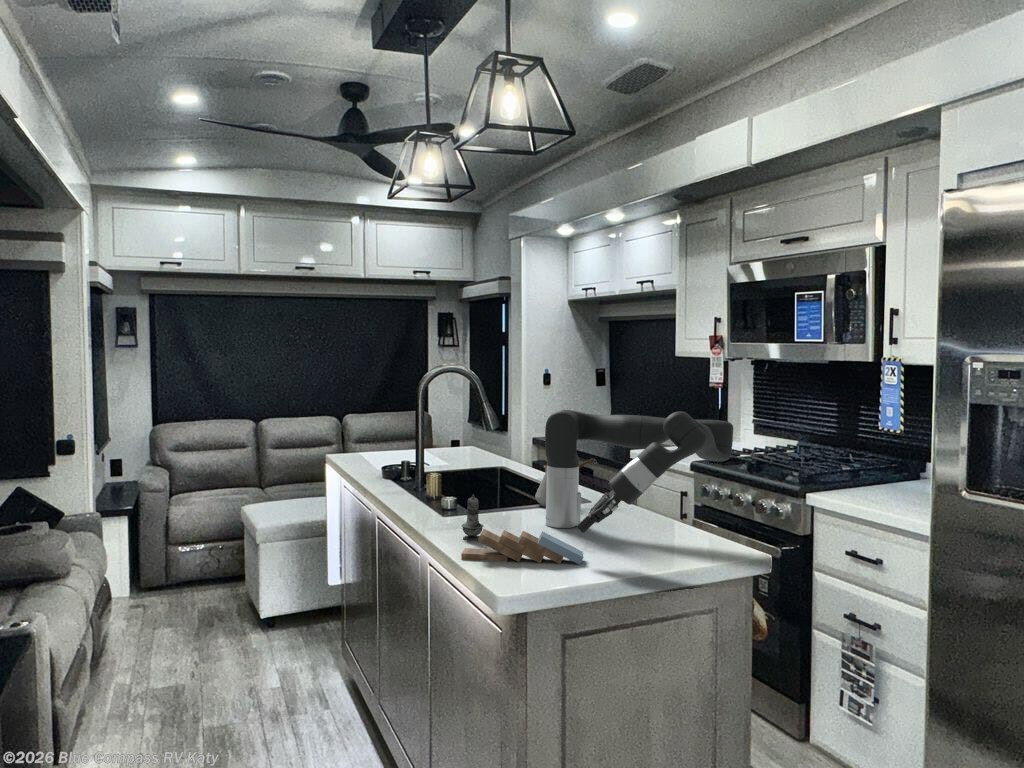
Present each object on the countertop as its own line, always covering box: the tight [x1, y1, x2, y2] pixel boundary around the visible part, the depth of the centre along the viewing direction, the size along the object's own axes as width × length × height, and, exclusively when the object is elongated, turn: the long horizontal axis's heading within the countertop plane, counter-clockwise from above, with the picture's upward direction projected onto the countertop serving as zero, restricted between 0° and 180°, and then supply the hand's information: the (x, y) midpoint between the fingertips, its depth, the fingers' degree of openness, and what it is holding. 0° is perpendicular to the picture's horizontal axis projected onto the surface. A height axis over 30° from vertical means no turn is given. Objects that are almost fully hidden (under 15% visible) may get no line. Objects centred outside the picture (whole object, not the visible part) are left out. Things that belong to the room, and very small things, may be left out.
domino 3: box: [499, 529, 545, 564], centre depth 178 cm, size 2×5×11 cm
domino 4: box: [518, 530, 564, 565], centre depth 178 cm, size 2×5×11 cm
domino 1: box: [460, 547, 510, 562], centre depth 180 cm, size 2×5×11 cm
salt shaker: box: [461, 493, 485, 542], centre depth 197 cm, size 6×6×12 cm
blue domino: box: [538, 530, 584, 566], centre depth 178 cm, size 2×5×11 cm
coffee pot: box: [534, 457, 598, 508], centre depth 244 cm, size 21×12×15 cm, turn 112°
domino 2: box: [477, 528, 524, 563], centre depth 179 cm, size 2×5×11 cm
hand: (579, 529), depth 177 cm, fingers closed
